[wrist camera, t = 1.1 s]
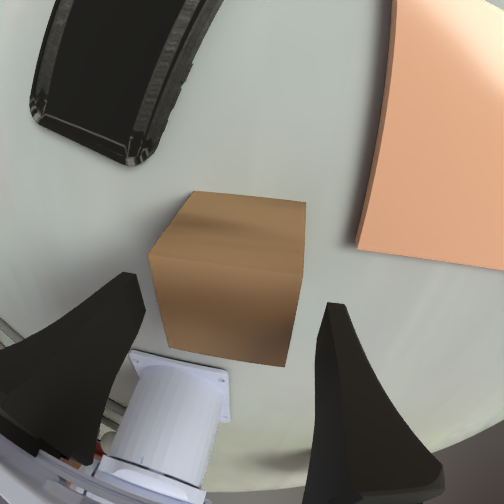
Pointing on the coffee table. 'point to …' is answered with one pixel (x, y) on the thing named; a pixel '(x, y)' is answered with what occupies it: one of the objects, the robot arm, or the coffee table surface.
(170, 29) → the phone
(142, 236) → the coffee table surface
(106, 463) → the robot arm
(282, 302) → the walnut cube
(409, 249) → the terracotta tile
